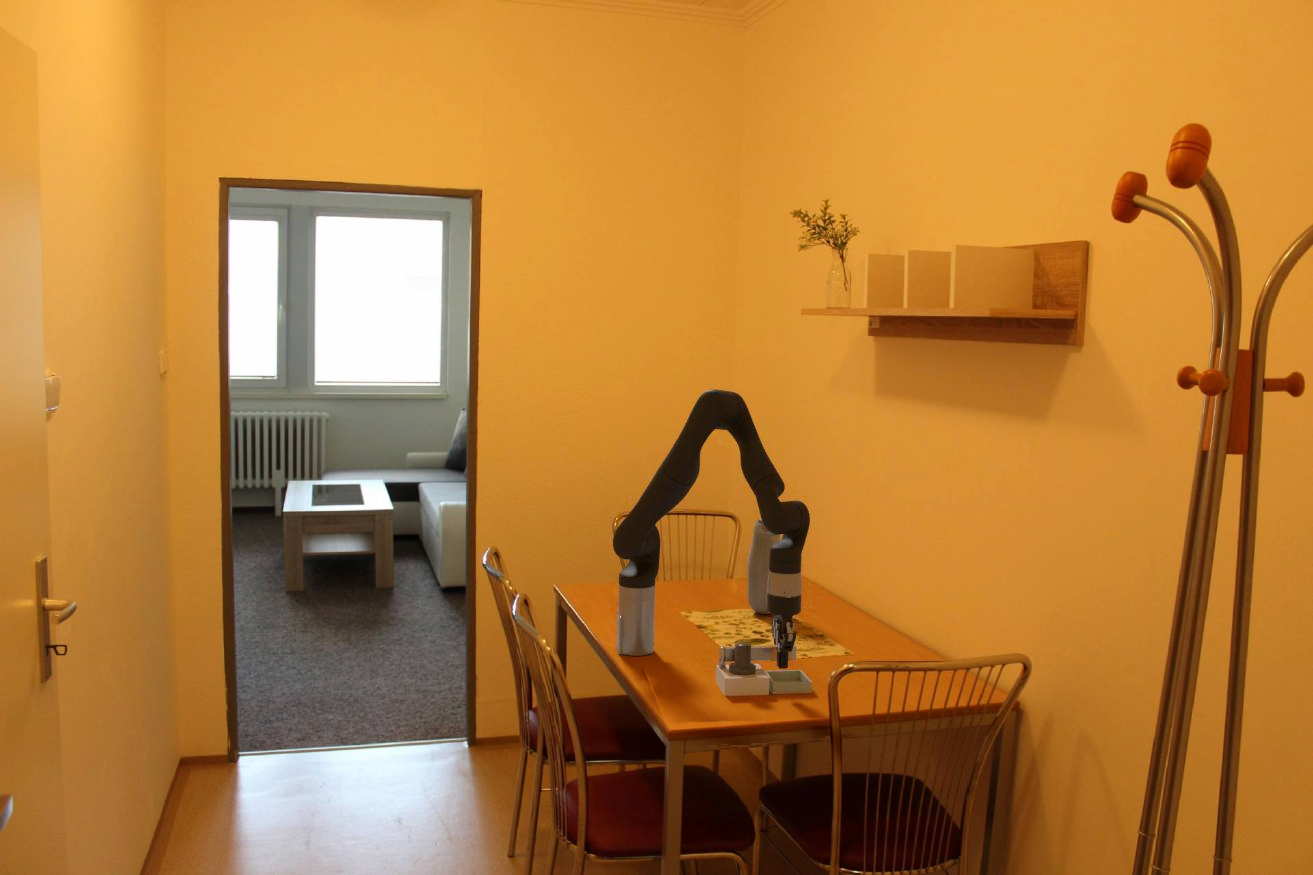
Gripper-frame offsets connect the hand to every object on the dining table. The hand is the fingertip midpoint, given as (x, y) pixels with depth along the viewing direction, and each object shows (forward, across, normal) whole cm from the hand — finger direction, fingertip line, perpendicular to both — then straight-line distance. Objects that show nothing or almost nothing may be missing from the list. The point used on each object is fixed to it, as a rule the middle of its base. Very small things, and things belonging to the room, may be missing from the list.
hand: (782, 667), depth 237 cm
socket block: (+7, -4, -8) cm, 11 cm away
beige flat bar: (+2, -7, -4) cm, 8 cm away
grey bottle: (+7, -73, +14) cm, 74 cm away
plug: (+6, -4, -8) cm, 11 cm away
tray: (+6, -4, +2) cm, 8 cm away
